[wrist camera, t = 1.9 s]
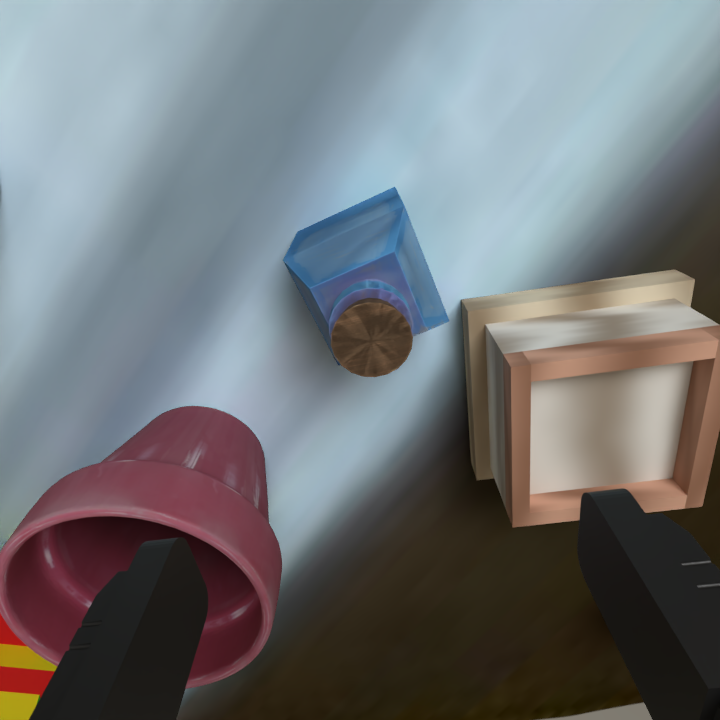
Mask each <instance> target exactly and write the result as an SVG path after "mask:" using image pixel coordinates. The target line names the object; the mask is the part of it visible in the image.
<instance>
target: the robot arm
mask: <svg viewBox="0 0 720 720" xmlns="http://www.w3.org/2000/svg"><path fill="white" fill-rule="evenodd" d="M578 558H579V563H580V567H581V570H582V573H583V576H584V579H585V581H586V583H587V585H588V587H589V589H590V591H591V593H592V596H593V598H594V600H595V602H596V604H597V606H598V608H599V610H600V612H601V614H602V616H603V618H604V620H605V622H606V624H607V627H608V629H609V631H610V633H611V635H612V637H613V639H614V641H615V643H616V645H617V647H618V649H619V651H620V653H621V655H622V657H623V660H624V662H625V664H626V666H627V668H628V670H629V672H630V674H631V676H632V678H633V680H634V682H635V684H636V686H637V688H638V690H639V693H640V695H641V697H642V699H643V701H644V703H645V705H646V707H647V709H648V711H649V713H650V715H651V717H652V719H653V720H720V571H719V569H718V568H717V567H716V565H715V564H712V563H711V561H710V558H709V557H708V555H707V554H706V553H705V551H704V550H703V549H702V548H701V546H700V545H699V544H698V543H697V541H696V540H695V539H694V538H693V536H692V535H691V534H690V533H689V532H688V531H686V530H685V529H683V528H682V527H681V526H679V525H678V524H676V523H675V522H674V521H672V520H671V519H669V518H668V517H666V516H665V515H664V514H662V513H659V514H650V515H646V513H645V512H644V511H643V509H642V508H641V506H640V505H639V504H638V502H637V501H636V499H635V498H634V497H633V495H632V494H631V493H630V492H629V491H628V490H627V489H624V488H621V489H612V490H603V491H595V492H586V493H583V495H582V497H581V507H580V520H579V533H578ZM207 612H208V591H207V587H206V584H205V582H204V579H203V577H202V575H201V572H200V570H199V568H198V565H197V563H196V561H195V558H194V556H193V554H192V551H191V549H190V547H189V545H188V543H187V541H186V540H185V539H184V538H182V537H179V538H170V539H162V540H153V541H146V542H144V543H143V544H142V545H141V546H140V547H139V549H138V551H137V553H136V555H135V557H134V559H133V561H132V563H131V565H130V567H129V569H128V570H127V571H119V572H117V573H116V575H115V576H114V577H113V578H112V579H111V580H110V581H109V582H108V583H107V584H106V585H105V586H104V587H103V588H102V590H101V591H100V592H99V593H98V594H97V595H96V596H95V598H94V600H93V602H92V604H91V606H90V607H89V609H88V611H87V613H86V615H85V617H84V618H83V620H82V622H81V623H82V626H81V628H78V630H77V631H76V633H75V635H74V637H73V639H72V641H71V642H70V644H69V650H68V651H66V652H65V654H64V655H63V657H62V659H61V661H60V663H59V665H58V666H57V668H56V670H55V672H54V674H53V676H52V678H51V679H50V681H49V683H48V685H47V687H46V689H45V690H44V692H43V694H42V696H41V698H40V700H39V702H38V703H37V705H36V707H35V709H34V711H33V713H32V714H31V716H30V718H29V720H176V718H177V714H178V711H179V708H180V704H181V701H182V698H183V694H184V691H185V688H186V684H187V681H188V678H189V674H190V671H191V668H192V664H193V661H194V658H195V654H196V651H197V648H198V644H199V641H200V638H201V634H202V631H203V628H204V624H205V621H206V617H207Z"/></svg>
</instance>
